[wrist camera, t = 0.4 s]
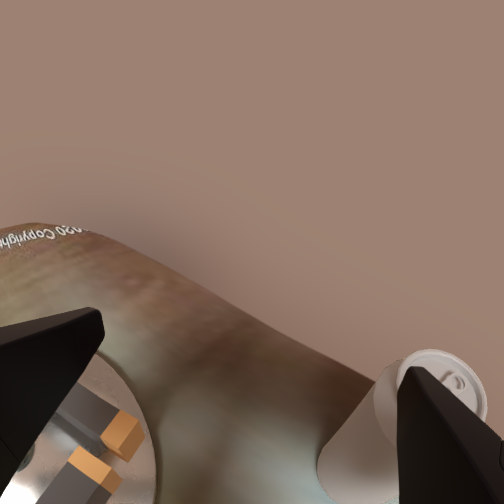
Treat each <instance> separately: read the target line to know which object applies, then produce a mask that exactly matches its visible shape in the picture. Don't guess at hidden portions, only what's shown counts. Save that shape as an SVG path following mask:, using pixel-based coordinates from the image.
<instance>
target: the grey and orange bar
mask: <svg viewBox="0 0 504 504" xmlns="http://www.w3.org/2000/svg"><path fill="white" fill-rule="evenodd" d="M56 412H57V413H58V414H59V415H60V416H62V417H63V418H64V419H65V420H67V421H68V422H69V423H70V424H72V425H73V426H74V427H76V428H77V429H78V430H80V431H81V432H82V433H84V434H85V435H87V436H88V437H89V438H91V439H92V440H94V441H95V442H97V443H98V444H100V445H101V446H103V447H104V448H106V449H107V450H109V451H110V452H111V453H112V454H114V455H115V456H117V457H119V458H120V459H122V460H124V461H125V462H127V463H129V461H130V460H131V458H132V457H133V455H134V454H135V452H136V451H137V449H138V448H139V446H140V445H141V443H142V442H143V440H144V439H145V434H144V432H143V429H142V427H141V424H140V421H139V420H138V419H136V418H135V417H133V416H131V415H129V414H128V413H126V412H124V411H123V410H120V409H118V408H116V407H115V406H113V405H111V404H110V403H108V402H107V401H105V400H103V399H102V398H100V397H99V396H97V395H96V394H94V393H93V392H91V391H90V390H88V389H87V388H85V387H84V386H82V385H81V384H80V383H78V382H76V384H75V385H74V386H73V388H72V389H71V391H70V392H69V393H68V395H67V396H66V397H65V399H64V400H63V402H62V403H61V405H60V406H59V407H58V409H57V410H56Z"/></svg>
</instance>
